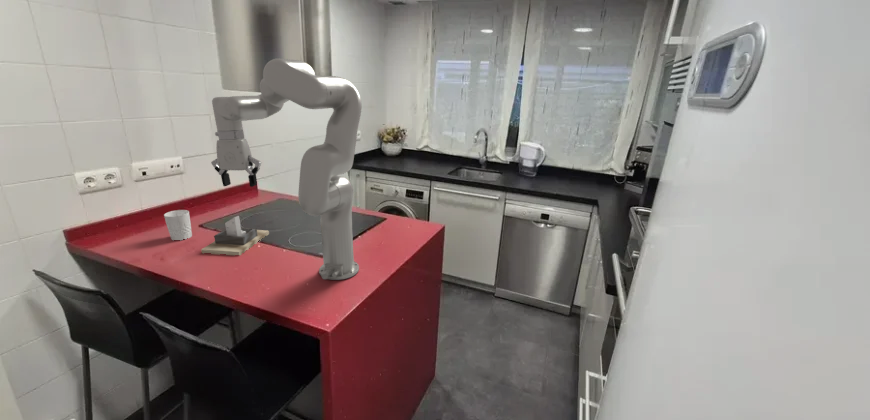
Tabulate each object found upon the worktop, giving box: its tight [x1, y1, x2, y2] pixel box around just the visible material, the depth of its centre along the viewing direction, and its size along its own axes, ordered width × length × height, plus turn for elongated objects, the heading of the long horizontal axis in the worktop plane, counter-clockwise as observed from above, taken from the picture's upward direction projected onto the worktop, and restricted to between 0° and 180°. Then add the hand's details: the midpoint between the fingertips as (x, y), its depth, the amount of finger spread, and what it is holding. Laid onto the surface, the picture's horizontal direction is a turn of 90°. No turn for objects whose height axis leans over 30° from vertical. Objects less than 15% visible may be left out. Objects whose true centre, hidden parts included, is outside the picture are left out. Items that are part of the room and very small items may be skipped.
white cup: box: [163, 209, 193, 241], centre depth 140 cm, size 8×8×10 cm
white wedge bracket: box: [224, 215, 246, 236], centre depth 136 cm, size 4×10×9 cm
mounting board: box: [200, 227, 270, 257], centre depth 138 cm, size 20×14×4 cm
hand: (240, 185), depth 127 cm, fingers open, 9 cm apart
